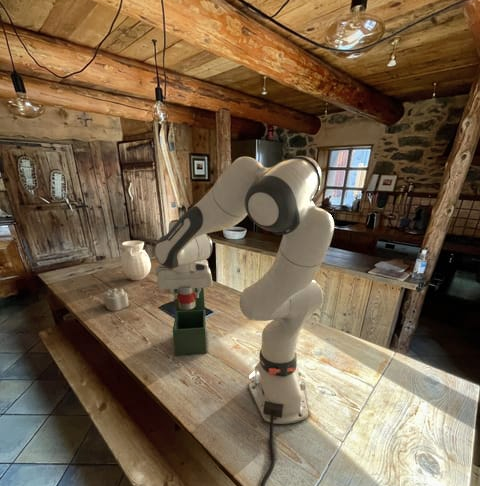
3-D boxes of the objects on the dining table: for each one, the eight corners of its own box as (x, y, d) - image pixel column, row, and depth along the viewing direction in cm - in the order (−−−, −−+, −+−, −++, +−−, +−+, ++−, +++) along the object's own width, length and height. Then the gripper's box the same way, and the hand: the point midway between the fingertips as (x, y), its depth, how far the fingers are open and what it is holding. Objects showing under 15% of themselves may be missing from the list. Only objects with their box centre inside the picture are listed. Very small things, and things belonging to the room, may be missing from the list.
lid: (203, 279, 108) (202, 272, 111) (171, 281, 106) (172, 274, 110) (204, 309, 118) (204, 302, 122) (176, 311, 117) (176, 303, 120)
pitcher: (147, 283, 177) (141, 246, 167) (119, 282, 177) (112, 246, 167) (155, 273, 194) (151, 239, 184) (130, 273, 194) (124, 239, 184)
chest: (206, 352, 109) (205, 328, 104) (175, 355, 108) (172, 330, 103) (206, 332, 123) (204, 309, 118) (178, 333, 122) (176, 311, 117)
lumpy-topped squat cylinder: (113, 312, 140) (109, 297, 137) (101, 304, 148) (98, 290, 144) (131, 305, 148) (128, 291, 144) (119, 298, 155) (117, 284, 152)
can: (195, 309, 101) (193, 288, 98) (178, 310, 101) (175, 288, 97) (196, 301, 107) (194, 281, 104) (179, 302, 107) (177, 281, 103)
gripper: (152, 267, 93) (157, 303, 98) (211, 265, 95) (213, 300, 101) (155, 262, 98) (160, 295, 104) (211, 260, 101) (212, 293, 106)
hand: (186, 297), depth 102 cm, fingers closed on can, 6 cm apart
